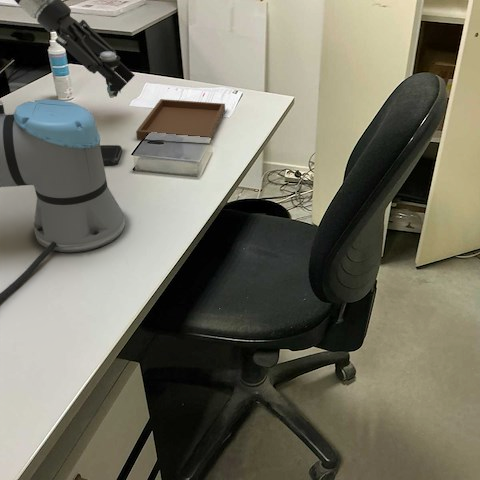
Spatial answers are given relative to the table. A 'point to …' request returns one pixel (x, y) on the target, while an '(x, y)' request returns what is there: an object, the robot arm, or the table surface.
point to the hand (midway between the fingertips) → (127, 83)
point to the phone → (111, 154)
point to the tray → (183, 118)
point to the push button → (112, 62)
